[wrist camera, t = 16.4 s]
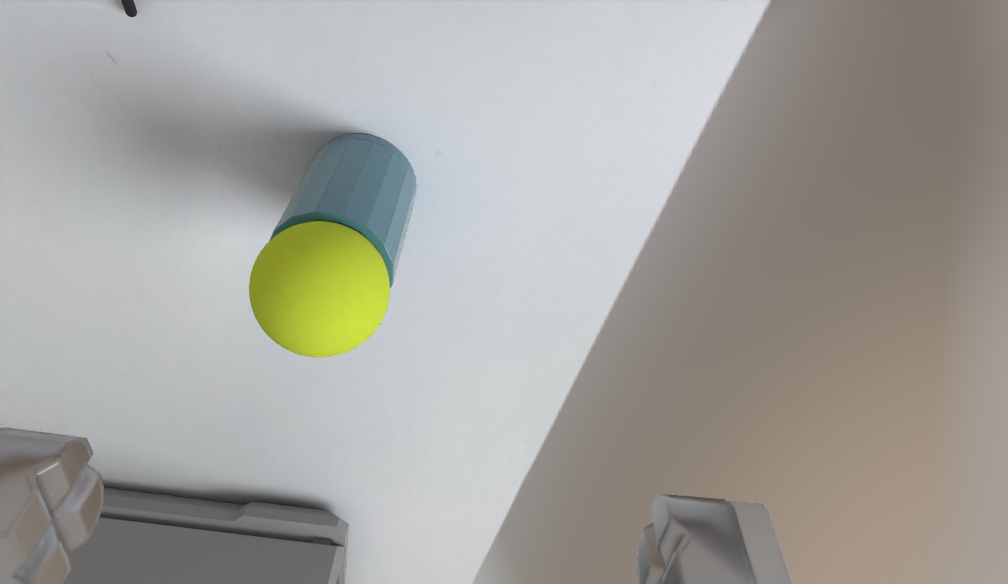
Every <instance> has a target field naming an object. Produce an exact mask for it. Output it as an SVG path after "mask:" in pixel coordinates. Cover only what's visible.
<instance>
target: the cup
mask: <svg viewBox="0 0 1008 584" xmlns="http://www.w3.org/2000/svg"><path fill="white" fill-rule="evenodd" d="M415 194H416V180H415V175H414V172H413V169H412V167H411V165H410V163H409V162H408V160H407V159H406V157H405V156H404V155H403V154H402V153H401V152H400V151H399V150H398V149H397V148H396V147H394V146H393V145H392V144H390V143H389V142H387V141H385V140H383V139H381V138H378V137H375V136H372V135H367V134H348V135H343V136H340V137H337V138H335V139H333V140H331V141H330V142H328V143H327V144H326V145H325V146H324V147H322V148H321V150H320V151H319V152H318V154H317V155H316V156H315V158H314V160H313V161H312V163H311V165H310V167H309V168H308V170H307V172H306V174H305V176H304V177H303V179H302V181H301V183H300V185H299V186H298V188H297V190H296V192H295V194H294V195H293V197H292V199H291V201H290V203H289V204H288V206H287V208H286V210H285V212H284V213H283V215H282V217H281V219H280V221H279V222H278V224H277V226H276V228H275V229H274V231H273V234H272V236H271V238H270V241H271V240H272V239H273V238H274V237H275V236H276V235H278V234H279V233H281V232H282V231H284V230H286V229H288V228H290V227H292V226H294V225H298V224H301V223H306V222H311V221H328V222H334V223H338V224H341V225H344V226H347V227H349V228H351V229H353V230H355V231H357V232H358V233H360V234H361V235H363V236H364V237H365V238H366V239H368V240H369V241H370V242H371V243H372V244H373V245H374V247H375V248H376V250H377V251H378V252H379V254H380V255H381V257H382V259H383V261H384V263H385V266H386V269H387V272H388V276H389V283H390V288H391V286H392V284H393V281H394V277H395V273H396V269H397V266H398V262H399V258H400V254H401V251H402V247H403V243H404V239H405V236H406V232H407V228H408V224H409V221H410V217H411V213H412V209H413V206H414V198H415Z"/></svg>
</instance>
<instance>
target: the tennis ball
mask: <svg viewBox="0 0 1008 584" xmlns="http://www.w3.org/2000/svg"><path fill="white" fill-rule="evenodd" d="M249 294H250V302H251V306H252V309H253V312H254V315H255V317H256V319H257V321H258V323H259V324H260V326H261V327H262V329H263V330H264V332H265V333H266V334H267V335H268V336H269V337H270V338H271V339H272V340H274V341H275V342H276V343H277V344H279V345H280V346H282V347H283V348H285V349H287V350H289V351H291V352H294V353H297V354H300V355H304V356H309V357H330V356H336V355H339V354H342V353H345V352H348V351H350V350H352V349H354V348H356V347H357V346H359V345H360V344H362V343H363V342H365V341H366V340H367V339H368V338H369V337H370V336H371V335H372V334H373V333H374V332H375V331H376V329H377V328H378V326H379V325H380V323H381V321H382V319H383V317H384V315H385V313H386V310H387V306H388V303H389V295H390V283H389V276H388V272H387V269H386V266H385V263H384V261H383V259H382V257H381V255H380V254H379V252H378V251H377V250H376V248H375V247H374V245H373V244H372V243H371V242H370V241H369V240H368V239H366V238H365V237H364V236H363V235H361V234H360V233H358V232H357V231H355V230H353V229H351V228H349V227H347V226H344V225H341V224H338V223H334V222H328V221H311V222H306V223H301V224H298V225H294V226H292V227H290V228H288V229H286V230H284V231H282V232H281V233H279V234H278V235H276V236H275V237H274V238H273V239H272V240H271V241H269V242H268V243H267V244H266V246H265V247H264V248H263V249H262V251H261V252H260V254H259V255H258V257H257V259H256V261H255V263H254V266H253V269H252V272H251V277H250V284H249Z"/></svg>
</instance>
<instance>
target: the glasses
mask: <svg viewBox="0 0 1008 584" xmlns="http://www.w3.org/2000/svg"><path fill="white" fill-rule="evenodd" d="M122 3H123V6H124V9H125V12H126V14H127V15H128V16H129V17H135V16H136V15H137V10H136V7H135V4H134V1H133V0H122Z"/></svg>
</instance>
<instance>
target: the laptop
mask: <svg viewBox="0 0 1008 584" xmlns="http://www.w3.org/2000/svg"><path fill="white" fill-rule="evenodd" d="M348 525H349V524H348V523H346V522H345V521H343V520H342V519H340V518H338V517H337V516H335V515H333V514H332V513H330V512H328V511H326V510H321V509H313V508H305V507H297V506H289V505H281V504H273V503H265V502H257V501H253V502H250V503H248V504H245V505H243V504H235V503H227V502H219V501H211V500H203V499H195V498H187V497H179V496H171V495H163V494H155V493H147V492H139V491H131V490H123V489H115V488H107V487H104V502H103V506H102V509H101V513H100V517H99V520H98V523H97V525H96V526H95V528H94V530H93V532H92V534H91V535H90V537H89V539H88V541H86V542H85V543H83V544H82V545H80V546H79V547H77V548H76V549H74V550H73V551H71V552H70V553H68V555H69V560H70V565H71V571H70V572H69V574H68V576H67V577H66V579H65V581H64V583H63V584H345V577H346V560H347V543H348Z"/></svg>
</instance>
